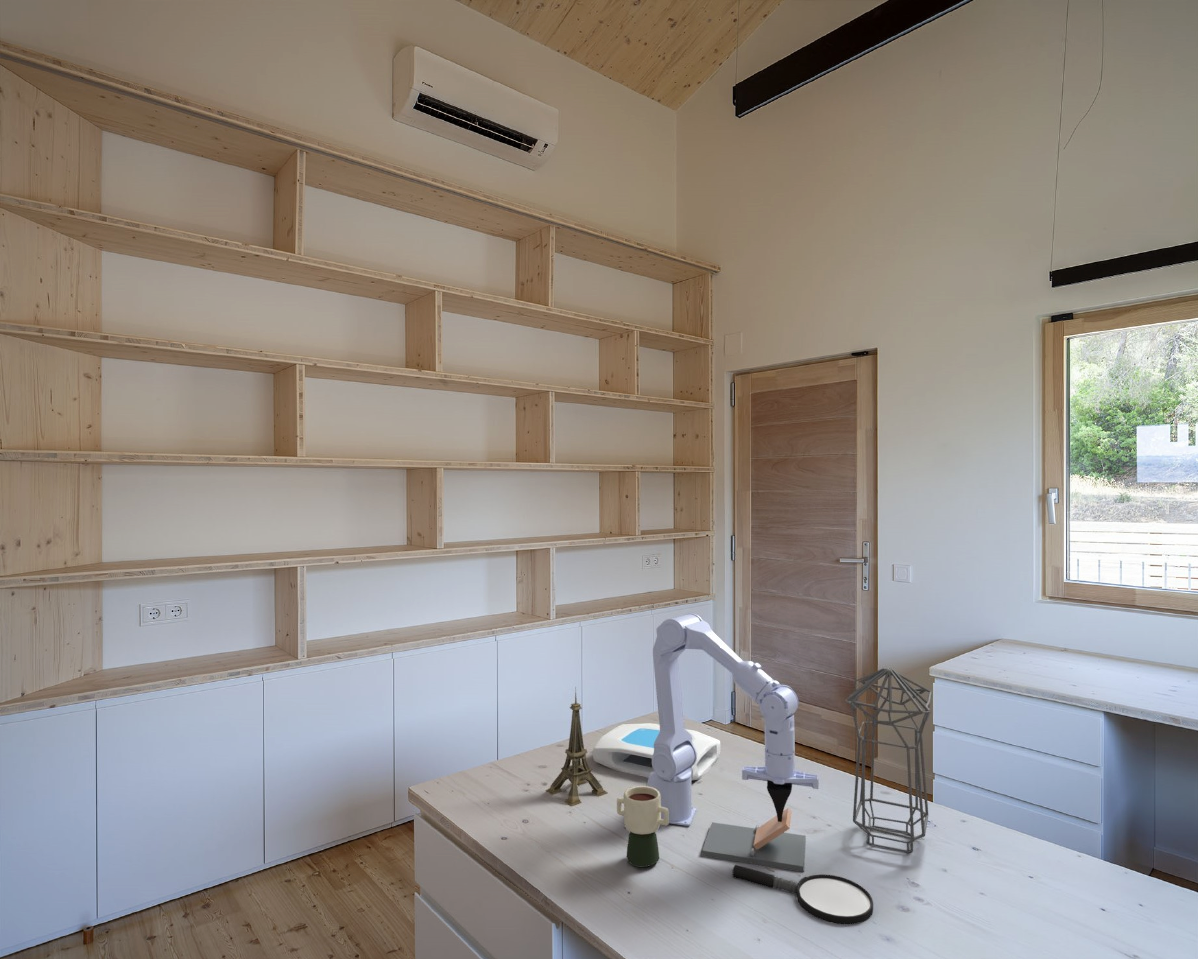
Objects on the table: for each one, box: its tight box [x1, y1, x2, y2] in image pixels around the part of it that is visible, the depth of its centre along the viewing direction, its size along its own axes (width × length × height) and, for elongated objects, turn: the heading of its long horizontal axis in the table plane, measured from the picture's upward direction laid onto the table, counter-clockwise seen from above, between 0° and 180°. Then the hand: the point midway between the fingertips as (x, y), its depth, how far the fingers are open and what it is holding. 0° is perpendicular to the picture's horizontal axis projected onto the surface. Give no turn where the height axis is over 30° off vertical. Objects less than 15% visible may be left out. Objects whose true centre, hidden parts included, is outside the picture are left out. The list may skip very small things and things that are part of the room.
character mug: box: [616, 785, 670, 868], centre depth 131 cm, size 11×7×13 cm, turn 62°
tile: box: [753, 808, 792, 850], centre depth 134 cm, size 8×7×1 cm
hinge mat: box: [701, 822, 807, 873], centre depth 135 cm, size 19×12×2 cm, turn 71°
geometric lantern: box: [844, 667, 933, 854], centre depth 138 cm, size 16×16×35 cm
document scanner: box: [592, 722, 722, 782], centre depth 180 cm, size 21×28×6 cm
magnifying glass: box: [732, 864, 874, 926], centre depth 120 cm, size 12×24×2 cm, turn 61°
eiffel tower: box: [545, 686, 609, 807], centre depth 162 cm, size 11×11×25 cm
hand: (780, 819), depth 134 cm, fingers closed, pressing on tile
